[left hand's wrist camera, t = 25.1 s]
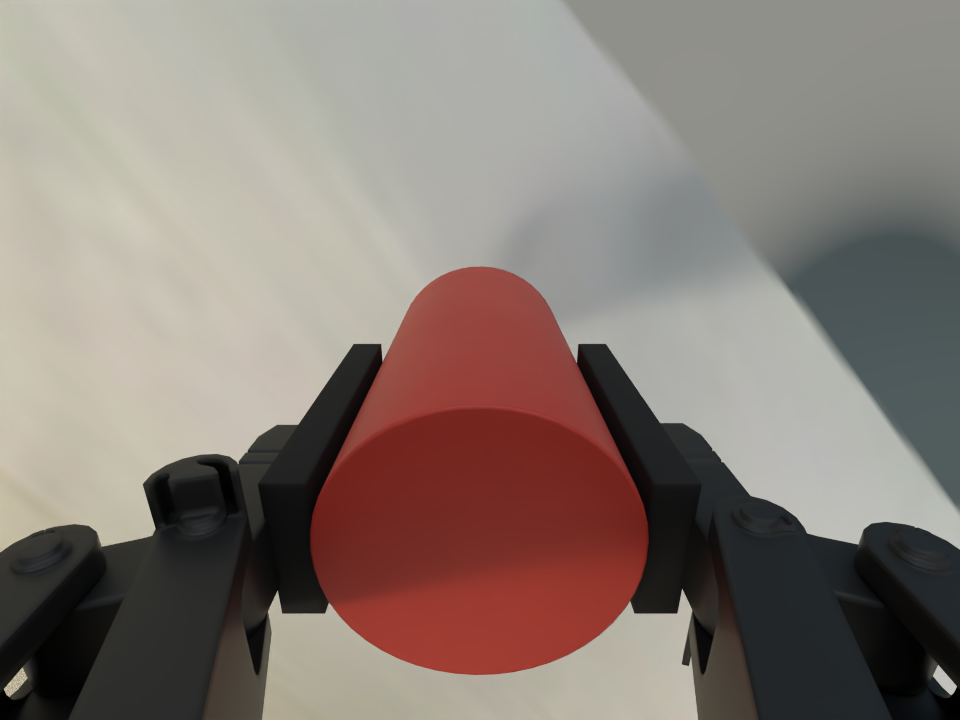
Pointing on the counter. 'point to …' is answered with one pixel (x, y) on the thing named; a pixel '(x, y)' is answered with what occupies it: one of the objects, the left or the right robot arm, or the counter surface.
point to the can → (479, 491)
